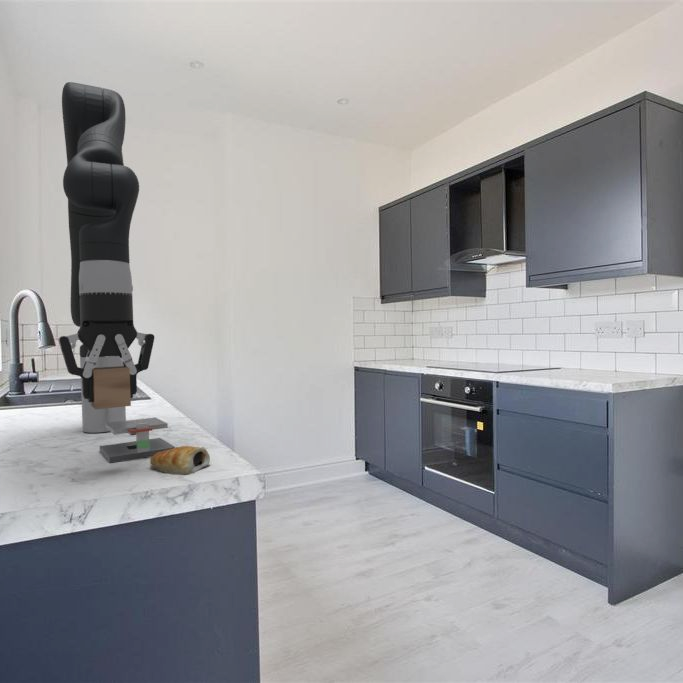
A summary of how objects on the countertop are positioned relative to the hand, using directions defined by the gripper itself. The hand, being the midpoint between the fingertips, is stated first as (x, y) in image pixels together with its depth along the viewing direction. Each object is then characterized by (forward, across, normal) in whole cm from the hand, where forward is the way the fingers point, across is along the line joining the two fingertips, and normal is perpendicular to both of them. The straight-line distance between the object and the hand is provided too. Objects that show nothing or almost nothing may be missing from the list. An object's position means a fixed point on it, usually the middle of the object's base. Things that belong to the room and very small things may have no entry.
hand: (110, 399), depth 77 cm
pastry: (+12, -9, +5) cm, 16 cm away
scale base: (+12, -6, -12) cm, 18 cm away
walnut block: (+1, 0, 0) cm, 1 cm away
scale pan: (+8, -6, -11) cm, 15 cm away
